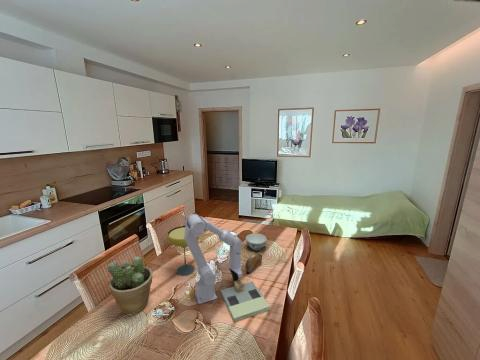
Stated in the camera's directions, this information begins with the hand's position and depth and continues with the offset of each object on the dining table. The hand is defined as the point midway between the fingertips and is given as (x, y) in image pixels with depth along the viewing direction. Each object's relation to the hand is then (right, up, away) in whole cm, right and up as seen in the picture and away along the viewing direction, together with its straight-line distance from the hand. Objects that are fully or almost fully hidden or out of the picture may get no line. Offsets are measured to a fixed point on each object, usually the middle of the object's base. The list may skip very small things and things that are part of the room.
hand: (235, 280), depth 119 cm
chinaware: (+14, +5, +39) cm, 42 cm away
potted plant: (-48, -6, -13) cm, 50 cm away
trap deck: (+5, -5, -10) cm, 13 cm away
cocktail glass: (-31, 0, +14) cm, 34 cm away
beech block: (+2, -2, -5) cm, 6 cm away
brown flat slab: (+11, 0, +16) cm, 19 cm away
